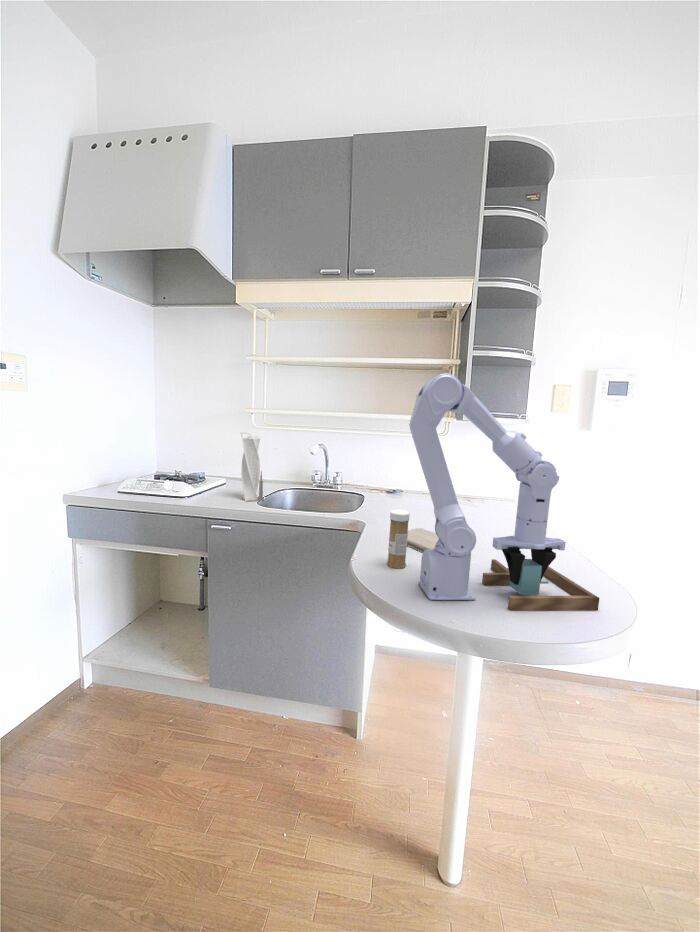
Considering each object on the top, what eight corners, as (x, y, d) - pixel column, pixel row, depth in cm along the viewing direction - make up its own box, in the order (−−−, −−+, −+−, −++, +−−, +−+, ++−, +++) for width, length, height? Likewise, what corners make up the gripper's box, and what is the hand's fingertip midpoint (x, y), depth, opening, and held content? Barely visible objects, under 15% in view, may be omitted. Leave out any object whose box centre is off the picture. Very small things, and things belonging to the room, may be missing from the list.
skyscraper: (242, 502, 150) (243, 432, 146) (237, 498, 157) (238, 431, 153) (263, 501, 154) (265, 433, 151) (257, 497, 161) (258, 432, 158)
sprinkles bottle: (385, 561, 93) (388, 508, 92) (403, 562, 94) (407, 509, 92) (389, 569, 89) (392, 513, 87) (408, 569, 89) (411, 514, 88)
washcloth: (434, 560, 98) (435, 548, 97) (388, 540, 112) (388, 530, 112) (463, 552, 104) (464, 541, 104) (416, 534, 119) (417, 525, 118)
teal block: (520, 594, 76) (523, 566, 75) (509, 585, 80) (512, 558, 79) (538, 594, 76) (541, 566, 75) (527, 585, 80) (530, 558, 79)
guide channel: (510, 610, 71) (511, 598, 71) (467, 569, 91) (468, 559, 91) (597, 610, 73) (599, 598, 73) (536, 569, 93) (538, 559, 93)
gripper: (507, 523, 71) (500, 591, 73) (578, 524, 73) (570, 591, 74) (490, 513, 78) (484, 576, 80) (555, 515, 80) (548, 576, 81)
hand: (524, 582), depth 78 cm, fingers closed on teal block, 4 cm apart
